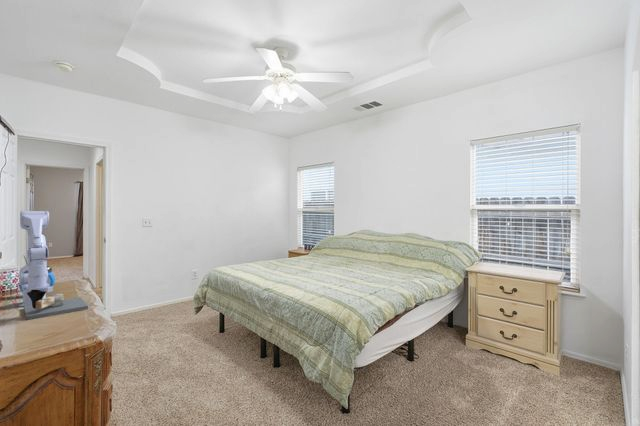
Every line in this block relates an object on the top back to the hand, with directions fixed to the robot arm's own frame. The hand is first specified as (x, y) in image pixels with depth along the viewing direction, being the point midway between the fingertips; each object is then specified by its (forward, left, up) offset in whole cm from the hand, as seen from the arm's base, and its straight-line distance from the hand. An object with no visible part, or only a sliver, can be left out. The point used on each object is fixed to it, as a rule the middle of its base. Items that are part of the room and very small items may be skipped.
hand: (36, 307), depth 128 cm
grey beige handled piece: (-3, +3, -1) cm, 4 cm away
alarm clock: (-38, -11, -3) cm, 40 cm away
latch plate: (-6, +5, -3) cm, 8 cm away
